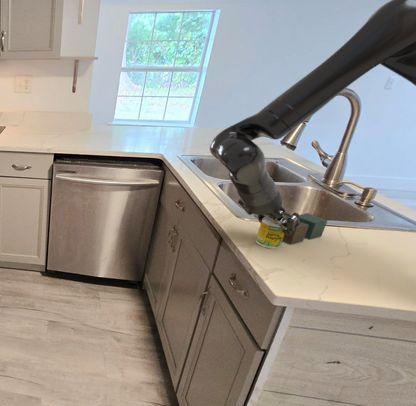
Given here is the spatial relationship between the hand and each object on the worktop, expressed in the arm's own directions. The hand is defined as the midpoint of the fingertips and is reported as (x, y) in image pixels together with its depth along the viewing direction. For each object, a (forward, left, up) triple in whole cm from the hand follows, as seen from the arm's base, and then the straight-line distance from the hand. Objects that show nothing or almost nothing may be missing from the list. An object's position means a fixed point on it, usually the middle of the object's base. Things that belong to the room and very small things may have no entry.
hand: (277, 227), depth 97 cm
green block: (0, -13, -5) cm, 14 cm away
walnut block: (0, -6, -5) cm, 7 cm away
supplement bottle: (0, +2, -5) cm, 5 cm away
